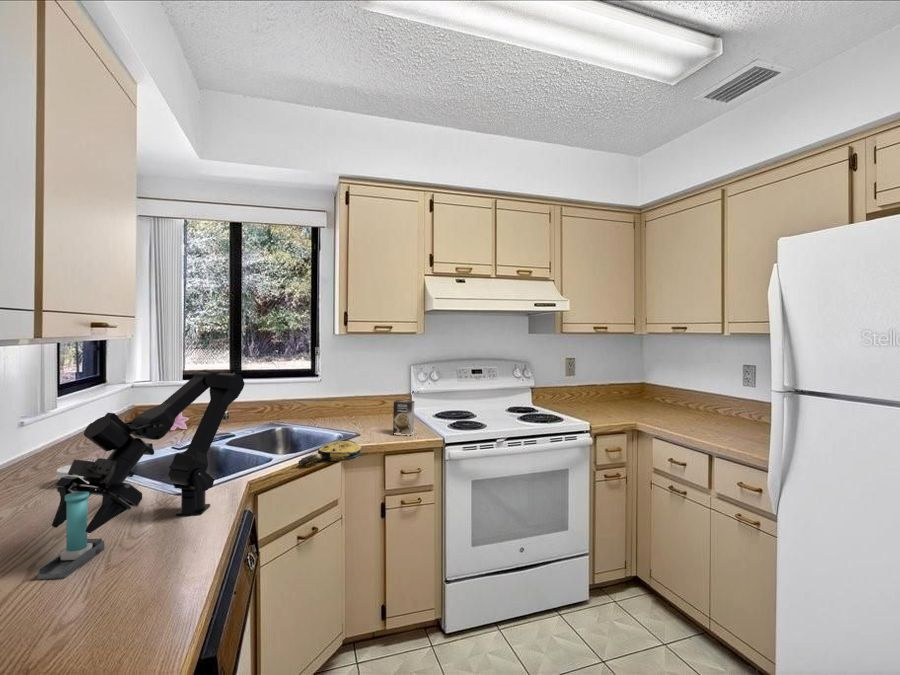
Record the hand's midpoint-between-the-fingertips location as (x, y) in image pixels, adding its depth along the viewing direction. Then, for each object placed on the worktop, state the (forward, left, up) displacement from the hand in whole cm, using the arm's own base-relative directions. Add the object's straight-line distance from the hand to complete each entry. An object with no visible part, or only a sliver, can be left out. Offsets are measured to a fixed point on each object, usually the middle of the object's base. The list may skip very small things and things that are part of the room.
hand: (70, 529), depth 95 cm
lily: (-134, -41, -7) cm, 140 cm away
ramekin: (-54, -32, -7) cm, 63 cm away
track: (0, +1, -7) cm, 7 cm away
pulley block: (-78, +42, -8) cm, 88 cm away
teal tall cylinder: (-1, +1, -6) cm, 6 cm away
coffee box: (-119, +70, -7) cm, 138 cm away
